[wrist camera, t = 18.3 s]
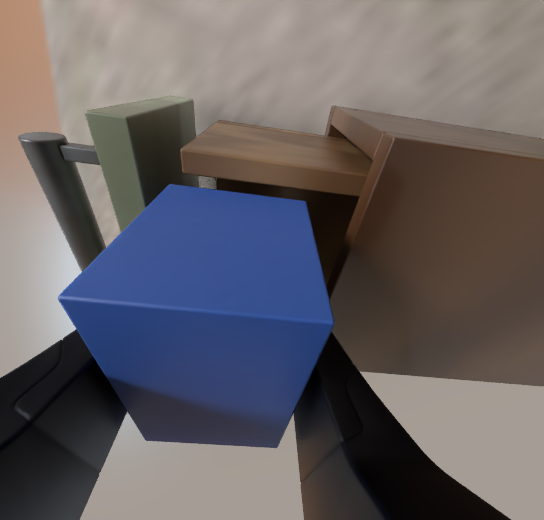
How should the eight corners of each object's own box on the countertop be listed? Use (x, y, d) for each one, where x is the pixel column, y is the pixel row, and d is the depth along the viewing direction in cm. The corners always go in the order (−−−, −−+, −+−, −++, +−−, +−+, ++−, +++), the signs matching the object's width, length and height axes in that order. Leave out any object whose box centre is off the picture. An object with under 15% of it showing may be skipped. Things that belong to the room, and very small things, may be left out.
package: (168, 182, 8) (52, 296, 4) (307, 200, 8) (338, 323, 4) (188, 319, 12) (144, 441, 8) (277, 328, 12) (278, 448, 8)
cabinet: (292, 268, 20) (301, 367, 13) (331, 105, 13) (393, 136, 6) (455, 286, 21) (542, 386, 14) (575, 143, 14) (863, 207, 7)
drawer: (124, 251, 18) (59, 325, 13) (71, 80, 12) (-106, 82, 6) (357, 276, 19) (388, 354, 14) (423, 134, 13) (528, 175, 7)
